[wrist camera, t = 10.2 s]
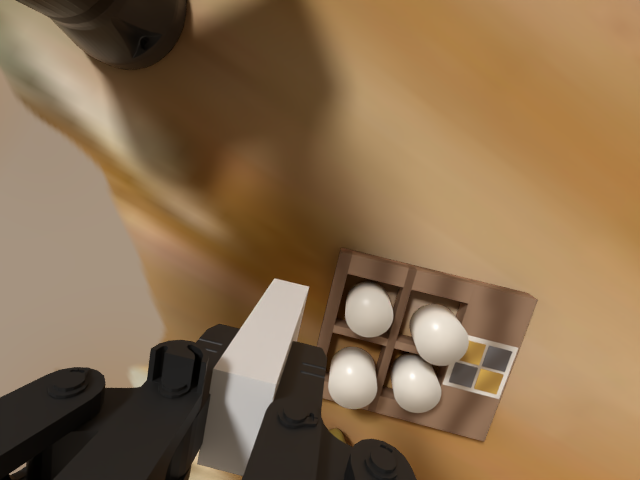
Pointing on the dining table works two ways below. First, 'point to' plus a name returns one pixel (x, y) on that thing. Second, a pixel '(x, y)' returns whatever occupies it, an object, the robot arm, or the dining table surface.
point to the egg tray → (456, 379)
